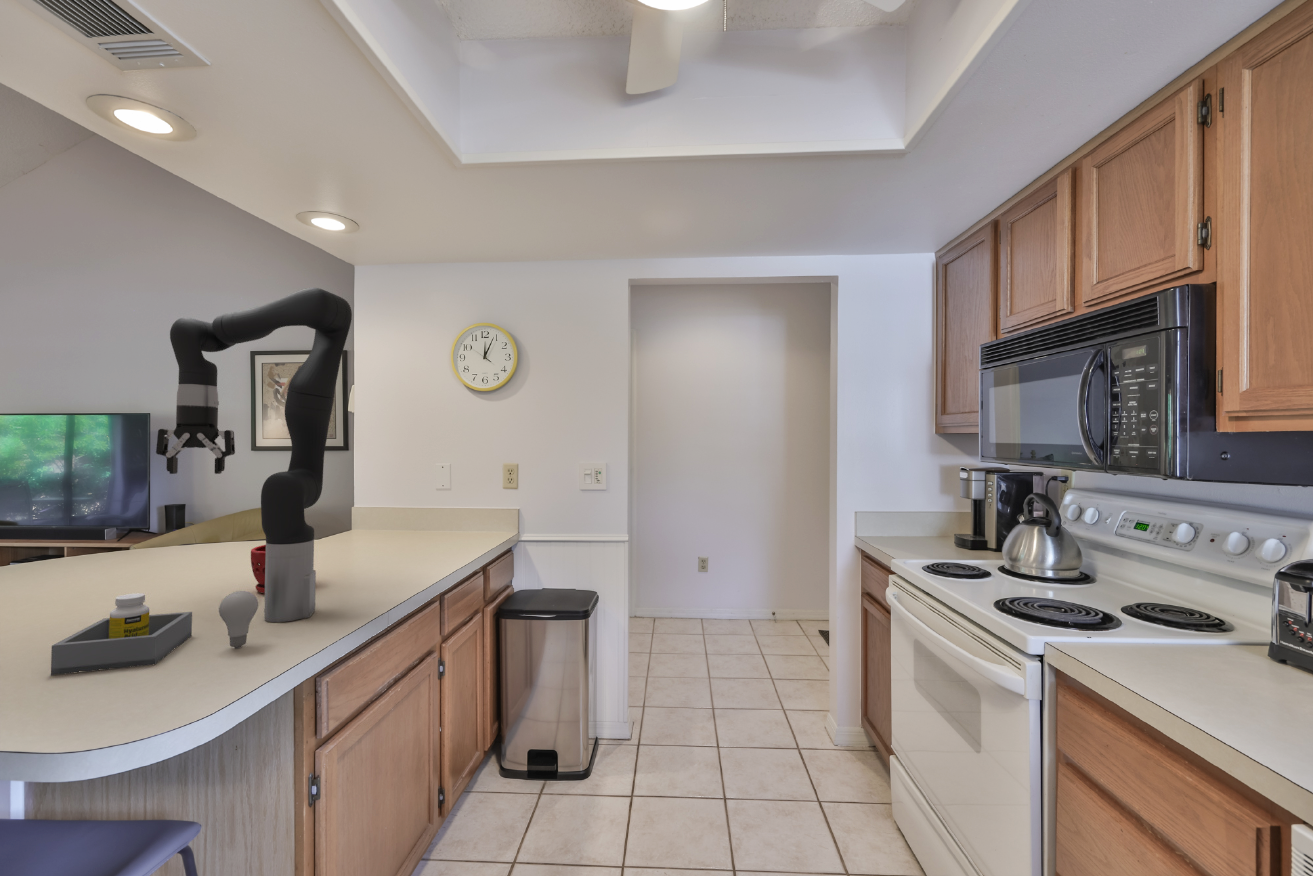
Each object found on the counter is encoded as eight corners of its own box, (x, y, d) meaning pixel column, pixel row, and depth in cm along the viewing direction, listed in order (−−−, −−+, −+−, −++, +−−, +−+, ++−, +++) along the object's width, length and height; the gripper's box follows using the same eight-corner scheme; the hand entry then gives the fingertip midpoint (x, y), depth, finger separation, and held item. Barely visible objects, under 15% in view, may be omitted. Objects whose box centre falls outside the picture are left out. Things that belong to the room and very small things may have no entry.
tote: (191, 636, 112) (192, 611, 112) (154, 664, 98) (155, 636, 98) (103, 644, 107) (103, 618, 107) (50, 675, 93) (51, 645, 93)
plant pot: (268, 584, 152) (269, 541, 152) (318, 583, 154) (319, 540, 154) (238, 597, 139) (239, 550, 139) (293, 596, 141) (294, 549, 141)
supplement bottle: (122, 655, 99) (123, 601, 99) (100, 652, 100) (101, 598, 100) (156, 644, 104) (157, 593, 104) (134, 641, 106) (136, 590, 106)
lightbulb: (214, 656, 102) (215, 597, 102) (222, 645, 107) (223, 589, 107) (254, 651, 105) (255, 593, 105) (260, 640, 110) (261, 585, 110)
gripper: (151, 402, 123) (149, 474, 123) (228, 405, 128) (226, 474, 128) (167, 404, 130) (165, 472, 130) (239, 407, 135) (238, 472, 135)
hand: (196, 473), depth 129 cm, fingers open, 8 cm apart
